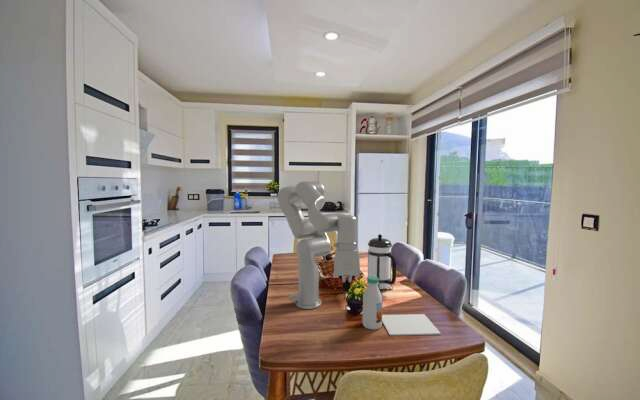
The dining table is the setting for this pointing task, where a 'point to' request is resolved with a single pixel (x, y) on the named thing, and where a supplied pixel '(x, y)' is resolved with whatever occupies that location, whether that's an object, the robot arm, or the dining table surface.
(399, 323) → the mat
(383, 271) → the coffee press
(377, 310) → the milk bottle
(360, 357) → the dining table surface
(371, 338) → the dining table surface
